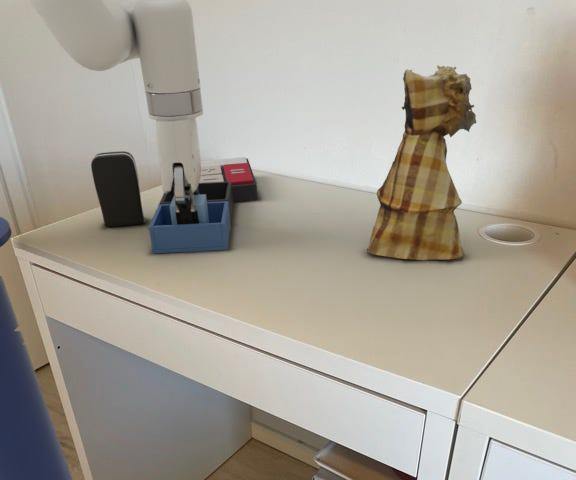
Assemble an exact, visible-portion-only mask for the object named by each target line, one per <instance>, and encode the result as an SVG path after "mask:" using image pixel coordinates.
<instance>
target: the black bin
mask: <svg viewBox="0 0 576 480" xmlns="http://www.w3.org/2000/svg"><path fill="white" fill-rule="evenodd" d="M198 186H199V193H200V195H202V194H206V199H207V202H219V201H228V202H229V213H230V223H231V224H232V220H233V219H232V218H233V212H234V204H235V202H233V191H232V181H227V182H207V183H199V184H198ZM173 197H174V189H173V186H172V189H171V191H169V193H168V194H166V193H165V192H164V191H163V194H162V196H161V199H160V201H159V203H158V205H159V204H162V205H163V204H171V202H172V199H173Z"/></svg>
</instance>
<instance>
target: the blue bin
mask: <svg viewBox="0 0 576 480" xmlns="http://www.w3.org/2000/svg"><path fill="white" fill-rule="evenodd" d="M207 207H208V216H209V223H202V224H181V225H172V219H171V213H170V204H163V205H162V204H159V203H158V206H157V208H156V210H155V212H154V213H153V216H152V219H151V221H150V223H149V225H148V233H149V238H150V243H151V249H152V254H171V253H172V254H173V253H192V252H211V251H213V252H215V251H227V250H228V248H229V242H230V235H231V234H230V233H231V227H232V222H231V223H230V213H229V202H228V201H219V202H207Z"/></svg>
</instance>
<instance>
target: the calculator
mask: <svg viewBox="0 0 576 480" xmlns="http://www.w3.org/2000/svg"><path fill="white" fill-rule="evenodd" d="M227 181H232V191H233V202H234V203H239V202H249V201H257V200H258V199H259V198H258V186H257V185H258V184H257V181H256V178H255V175H254V172H253V169H252V166H251V164H250V161H249V159H248V158H247V157H245V156H240V157H228V158H216V159H207V160H201V178H200V181H199V183H207V182H227Z"/></svg>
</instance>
